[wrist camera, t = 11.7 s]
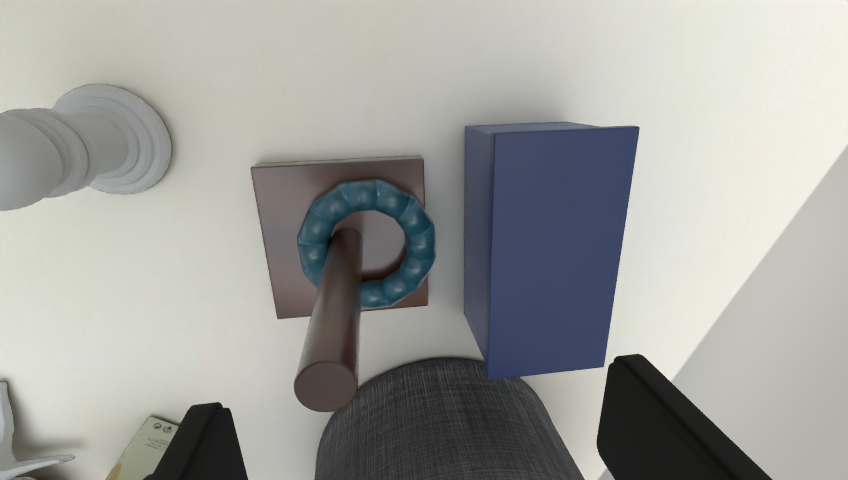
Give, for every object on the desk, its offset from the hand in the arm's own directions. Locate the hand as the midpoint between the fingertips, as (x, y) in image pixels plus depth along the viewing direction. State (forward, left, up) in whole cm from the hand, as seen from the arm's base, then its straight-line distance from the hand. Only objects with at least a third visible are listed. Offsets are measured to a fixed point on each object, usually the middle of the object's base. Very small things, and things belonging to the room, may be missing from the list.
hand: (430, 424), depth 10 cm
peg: (0, -3, -15) cm, 15 cm away
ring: (0, -2, -13) cm, 13 cm away
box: (0, +7, -15) cm, 17 cm away
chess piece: (-6, -14, -15) cm, 21 cm away
